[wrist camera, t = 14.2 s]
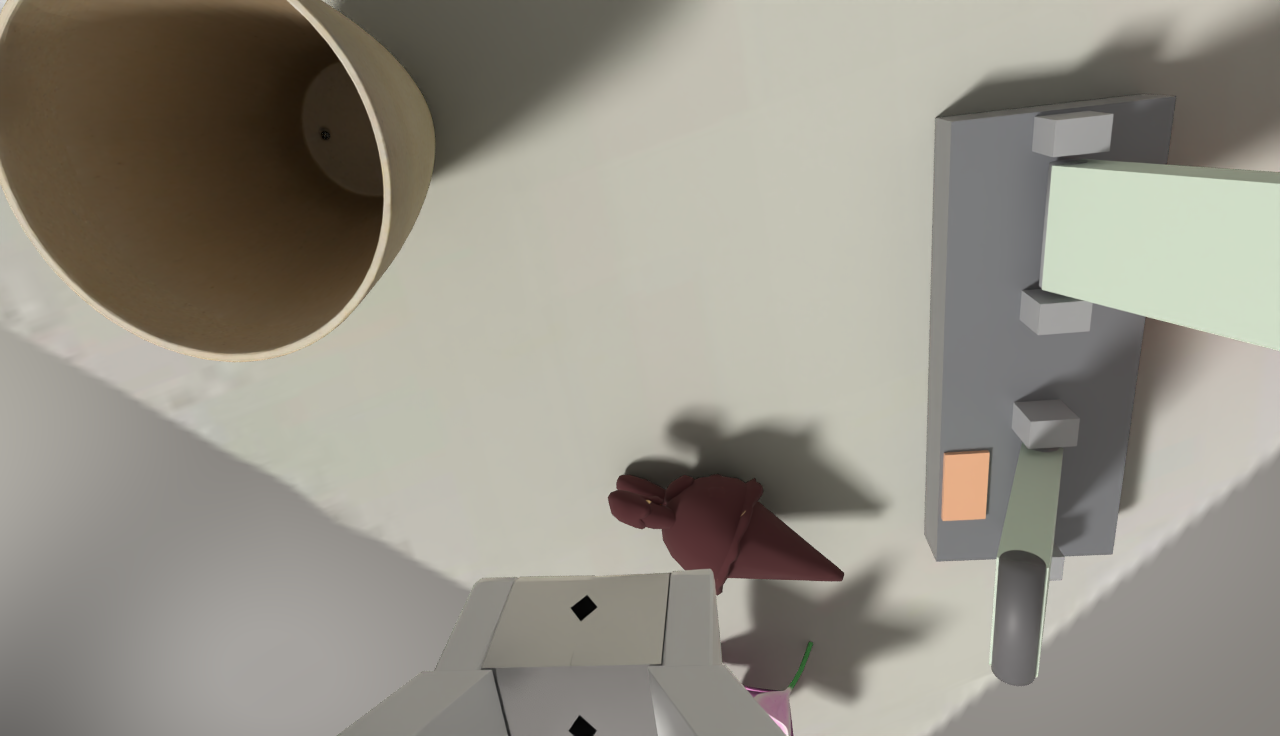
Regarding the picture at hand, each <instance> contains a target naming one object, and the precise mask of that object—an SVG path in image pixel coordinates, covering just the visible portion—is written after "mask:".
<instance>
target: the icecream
mask: <svg viewBox="0 0 1280 736" xmlns="http://www.w3.org/2000/svg"><path fill="white" fill-rule="evenodd" d="M616 486H617V489H618V490H616V491H614V492H611V493H610V495H609V496H608V501H609V505H610V509H611V513H612V515H614V516H615V517H616V518H617V519H618V520H619V521H621V522H623V523H625V524H628V525H630V526H633V527H635V528H639V529H643V528H645V527H648V528H652V529H662V535H663V541H664V543H665V545H666V546H667V548H668V550H669V552H670V554H671V556H672V557H673V558H674V559H675V560H676V561H677V562H678V563H679V564H680V565H681V566H682V568H683V569H684V570H699V569H711V570H712V571H713V574H714V579H715V589H716V595H719V594H720V593H722V589H723V584H724V583H725V581H726V579H727V578H748V579H779V580H809V581H842V580H843V577H844V572H842V571H841V570H840V569H839V568H838V567H837V566H836V565H834V564H833V563H832V562H831V561H830V560H828V559H827V558H826V557H825V556H823V555H822V554H821V553H820V552H818V551H817V550H816V549H815V548H814V547H812V546H811V545H810V544H809V543H808V542H806V541H805V540H804V539H803V538H802V537H800V536H799V535H798V534H797V533H796V532H794V531H793V530H792V529H791V528H790V527H788V526H787V525H786V524H785V523H784V522H782V521H781V520H780V519H779V518H778V517H776V516H775V515H774V514H773V513H772V512H770V511H769V510H768V509H767V508H766V507H764V506H763V505H762V504H761V503H760V502H758V500H759V499H760V497H761V496H762V494H763V488H762V485H761V484H760V483H758V482H756V479H755V478H754V479H752V480H750V481H748V482H747V483H745V482H743V481H741V480H740V479H738V478H731V477H724V476H721V475H719V474H714V475H710V476H709V477H701V478H698V479H695V480H694V478H692V477H690V476H687V475H683V476H681V477H679V478H678V479H676V480H674V481H672V482H671V483H670V485H669V486H668V488H667V489H666V490H665V489H664V488H662V487H660V486H658V485H656V484H654V483H652V482H650V481H648V480H646V479H642V478H639V477H636V476H632V475H621V476H619V478H618V480H617V483H616Z"/></svg>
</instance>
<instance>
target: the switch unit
mask: <svg viewBox="0 0 1280 736" xmlns="http://www.w3.org/2000/svg"><path fill="white" fill-rule="evenodd" d="M1175 102H1176V96H1167V95H1154V94H1138V95H1129V96H1120V97H1112V98H1103V99H1094V100H1085V101H1077V102H1068V103H1059V104H1050V105H1042V106H1033V107H1024V108H1016V109H1007V110H998V111H989V112H981V113H972V114H963V115H955V116H946V117H937V118H935V149H934V187H933V225H932V263H931V301H930V339H929V377H928V415H927V453H926V491H925V529H924V535H925V537H926V539H927V542H928V544H929V546H930V548H931V551H932V553H933V555H934V557H935V560H936V562H937V561H961V560H986V559H997V553H998V549H999V544H1000V540H1001V535H1002V531H1003V526H1004V522H1005V517H1006V513H1007V508H1008V503H1009V499H1010V494H1011V490H1012V485H1013V481H1014V476H1015V472H1016V467H1017V463H1018V458H1019V453H1020V449H1021V444H1022V443H1024V444H1025V445H1026V447H1027V448H1028V449H1036V448H1053V447H1061V448H1064V449H1063V458H1062V468H1061V478H1060V487H1059V497H1058V507H1057V516H1056V526H1055V536H1054V545H1053V553H1052V562H1051V570H1050V578H1049V581H1054V580H1062V576H1063V567H1064V558H1065V557H1064V556H1084V555H1109V554H1113V547H1114V540H1115V533H1116V526H1117V519H1118V511H1119V504H1120V497H1121V490H1122V483H1123V475H1124V468H1125V461H1126V454H1127V447H1128V440H1129V432H1130V425H1131V418H1132V411H1133V404H1134V396H1135V389H1136V382H1137V375H1138V368H1139V360H1140V353H1141V346H1142V339H1143V332H1144V325H1145V317H1146V316H1142V315H1138V314H1134V313H1130V312H1126V311H1122V310H1118V309H1115V308H1111V307H1107V306H1103V305H1099V304H1095V303H1091V302H1087V301H1084V300H1080V299H1076V298H1072V297H1068V296H1064V295H1060V294H1056V293H1053V292H1049V291H1045V290H1042V288H1041V287H1040V286H1039V278H1040V266H1041V254H1042V242H1043V230H1044V217H1045V205H1046V193H1047V181H1048V169H1049V163H1050V162H1053V161H1059V160H1082V159H1091V160H1106V161H1121V162H1135V163H1150V164H1165V165H1167V159H1168V152H1169V145H1170V138H1171V130H1172V123H1173V116H1174V109H1175Z"/></svg>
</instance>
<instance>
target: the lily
mask: <svg viewBox="0 0 1280 736" xmlns="http://www.w3.org/2000/svg"><path fill="white" fill-rule="evenodd" d="M812 645H813V643H812V642H809V643H808V646H807V649H806V652H805V654H804V657H803V660H802V662H801V665H800V667H799V669H798V671H797V673H796V675H795V677H794V679H793V680H792V682H791V683H790V685H789V686H788V687H787V688H786V690H783V691H778V690H768V689H760V688H754V687H748V686H744V685H743V686H744V687H745V688H746V689H747V691H748V692H749V693H750V694H751V695H752V696H753V698H754V699H755V700H756V701H757V702H758V703H759V704H760V706H761V707H762V708H763V709H764V710H765V711H766V712H767V714H768V715H769V716H770V717H771V718H772V719H773V721H774V722H775V723H776V724H777V725H778V726H779V727H780V729H781V730H782V731H783V732H784V733H785V734H786V735H787V736H793V728H792V720H791V712H790V704H789V696H790V693H791V691H792V689H793V688H794V686H795V684H796V683H797V681H798V679H799V677H800V675H801V674H802V672H803V669H804V667H805V664H806V662H807V659H808V656H809V654H810V651H811V648H812Z"/></svg>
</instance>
